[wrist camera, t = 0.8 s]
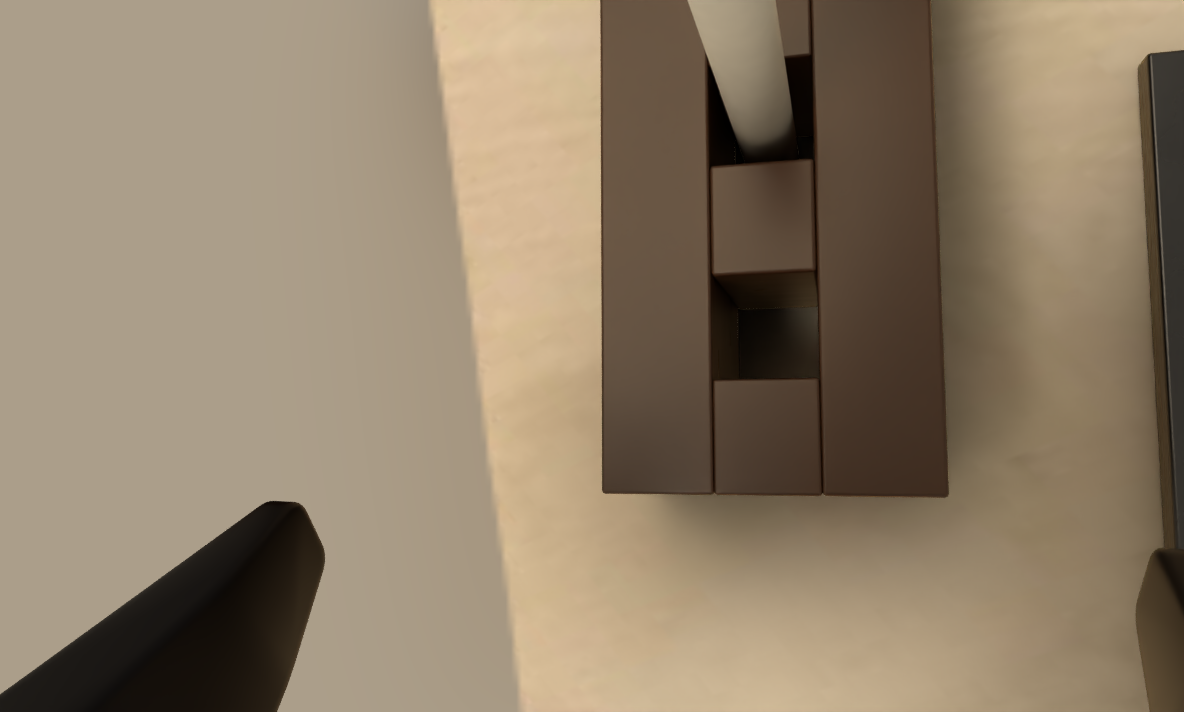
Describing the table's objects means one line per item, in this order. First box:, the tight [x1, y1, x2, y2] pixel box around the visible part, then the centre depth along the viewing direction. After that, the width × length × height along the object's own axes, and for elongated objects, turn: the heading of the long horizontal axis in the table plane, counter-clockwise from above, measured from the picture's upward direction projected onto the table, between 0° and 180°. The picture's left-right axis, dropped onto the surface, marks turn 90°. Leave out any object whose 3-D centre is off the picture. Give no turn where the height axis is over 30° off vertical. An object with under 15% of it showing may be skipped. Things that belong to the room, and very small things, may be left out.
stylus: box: [688, 0, 799, 163], centre depth 16 cm, size 1×1×14 cm
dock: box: [600, 0, 949, 498], centre depth 21 cm, size 6×15×5 cm, turn 0°
